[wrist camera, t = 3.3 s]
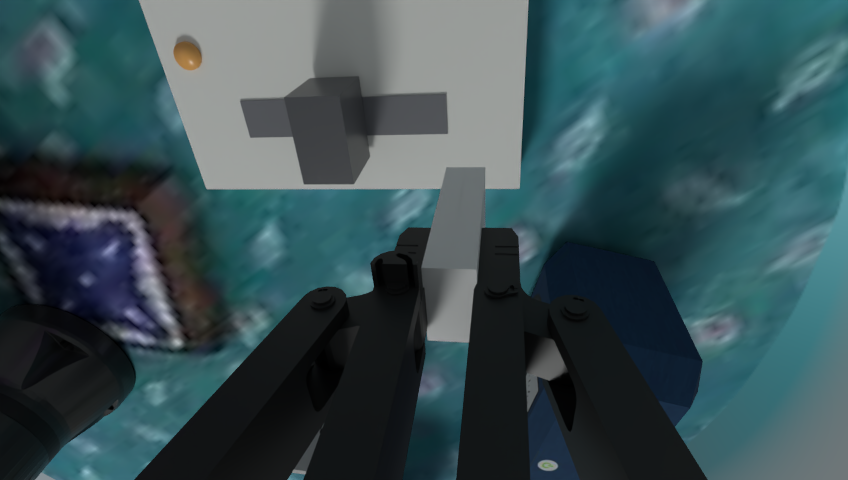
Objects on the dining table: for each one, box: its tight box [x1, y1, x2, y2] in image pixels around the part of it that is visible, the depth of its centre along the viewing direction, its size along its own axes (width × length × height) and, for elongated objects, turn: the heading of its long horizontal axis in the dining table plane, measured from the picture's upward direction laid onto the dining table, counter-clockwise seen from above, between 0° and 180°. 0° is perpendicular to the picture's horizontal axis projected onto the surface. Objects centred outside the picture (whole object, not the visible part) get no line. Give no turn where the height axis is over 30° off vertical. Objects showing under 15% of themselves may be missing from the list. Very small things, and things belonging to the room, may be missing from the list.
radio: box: [526, 242, 703, 480], centre depth 32 cm, size 21×9×20 cm, turn 170°
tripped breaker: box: [284, 76, 370, 184], centre depth 27 cm, size 3×5×4 cm, turn 4°
